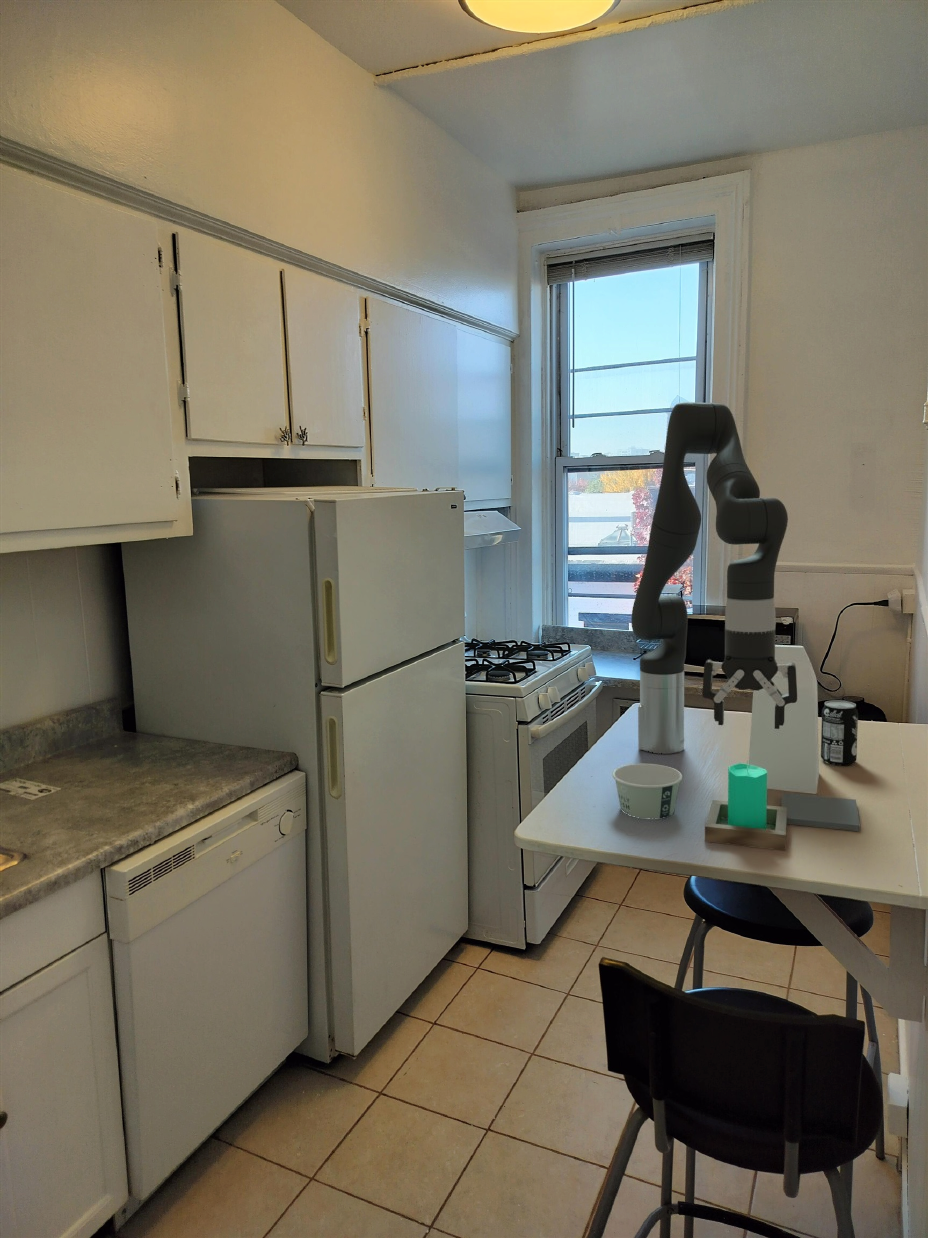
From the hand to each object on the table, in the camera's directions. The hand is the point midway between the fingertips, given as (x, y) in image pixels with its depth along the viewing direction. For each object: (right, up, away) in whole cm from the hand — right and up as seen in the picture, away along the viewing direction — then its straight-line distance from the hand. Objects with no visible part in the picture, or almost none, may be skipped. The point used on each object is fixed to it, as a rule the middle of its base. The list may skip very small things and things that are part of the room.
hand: (748, 726), depth 135 cm
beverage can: (+30, -12, +35) cm, 47 cm away
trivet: (+15, -16, +9) cm, 24 cm away
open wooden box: (+1, -18, +3) cm, 18 cm away
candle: (+1, -18, +3) cm, 18 cm away
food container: (-13, -17, +14) cm, 25 cm away
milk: (+15, -14, +26) cm, 33 cm away
